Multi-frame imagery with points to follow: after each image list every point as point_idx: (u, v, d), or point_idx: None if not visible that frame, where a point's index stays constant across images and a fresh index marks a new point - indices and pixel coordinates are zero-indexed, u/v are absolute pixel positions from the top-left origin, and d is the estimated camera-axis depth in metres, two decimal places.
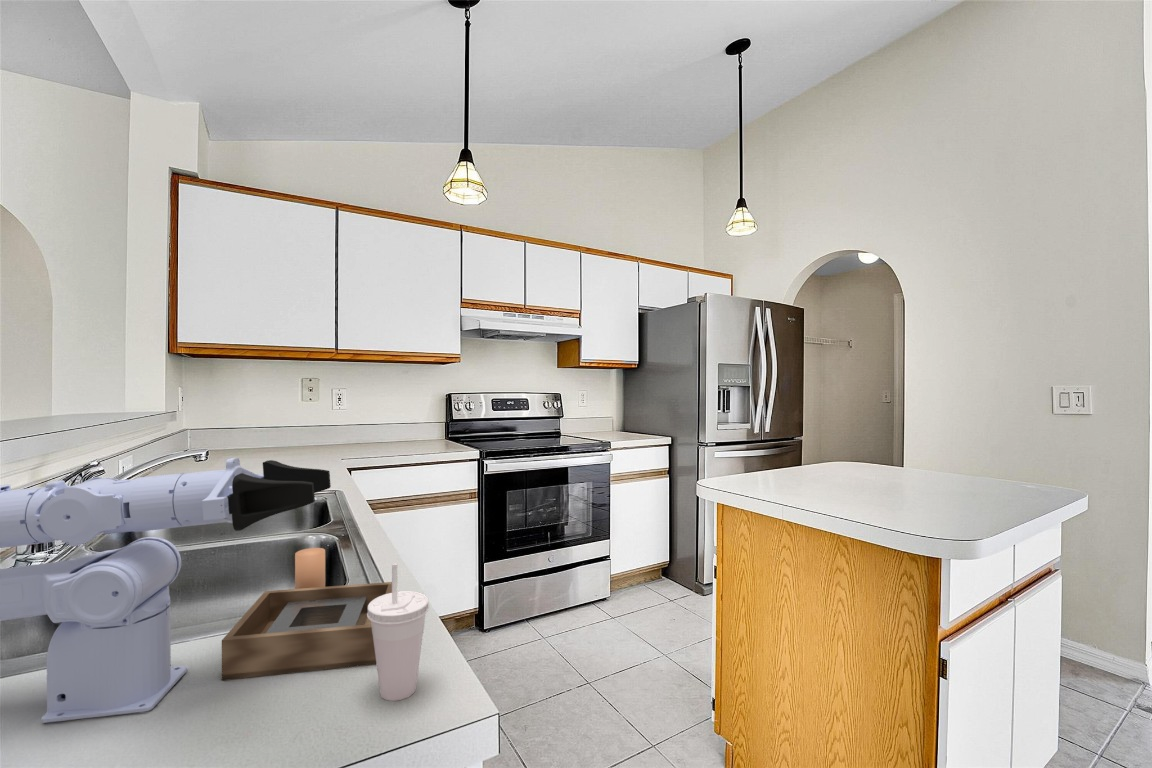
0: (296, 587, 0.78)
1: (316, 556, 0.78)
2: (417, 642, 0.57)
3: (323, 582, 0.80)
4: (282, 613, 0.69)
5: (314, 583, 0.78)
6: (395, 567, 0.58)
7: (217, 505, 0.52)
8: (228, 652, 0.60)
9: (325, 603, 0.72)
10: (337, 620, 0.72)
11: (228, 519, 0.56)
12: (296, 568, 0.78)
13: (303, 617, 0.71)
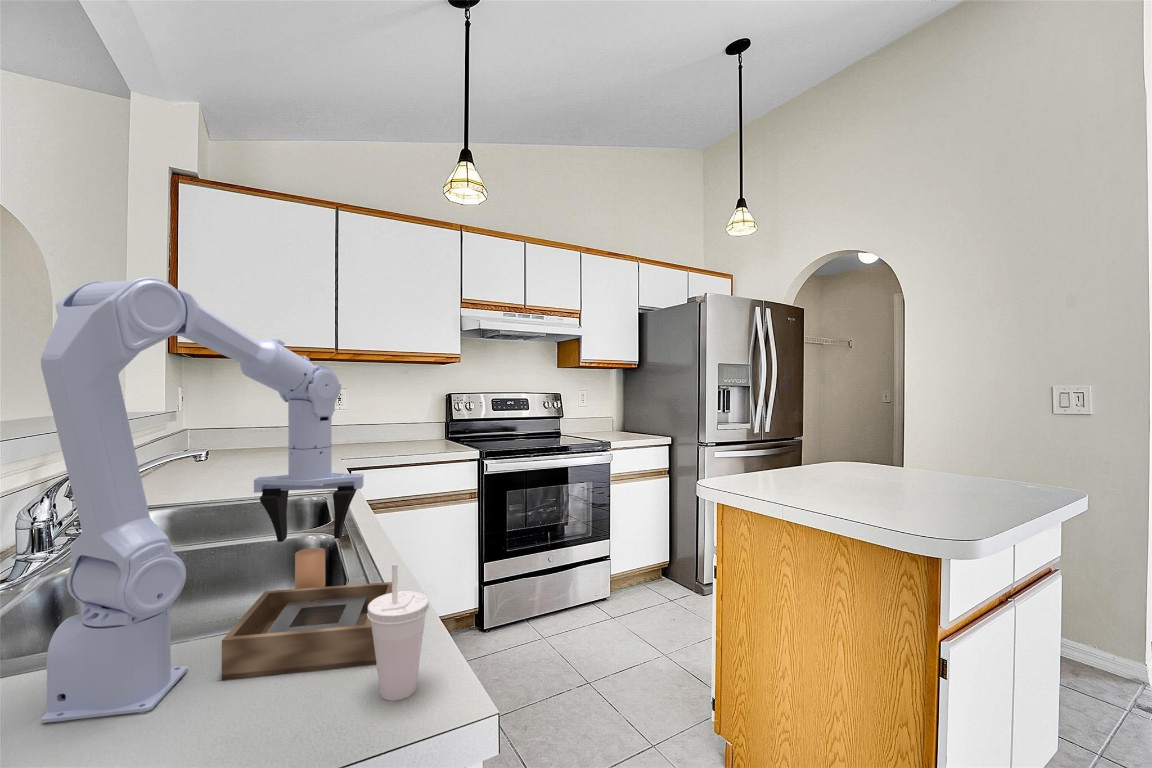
0: (296, 587, 0.78)
1: (316, 556, 0.78)
2: (417, 642, 0.57)
3: (323, 582, 0.80)
4: (282, 613, 0.69)
5: (314, 583, 0.78)
6: (395, 567, 0.58)
7: (362, 483, 0.81)
8: (228, 652, 0.60)
9: (325, 603, 0.72)
10: (337, 620, 0.72)
11: (331, 483, 0.78)
12: (296, 568, 0.78)
13: (303, 617, 0.71)
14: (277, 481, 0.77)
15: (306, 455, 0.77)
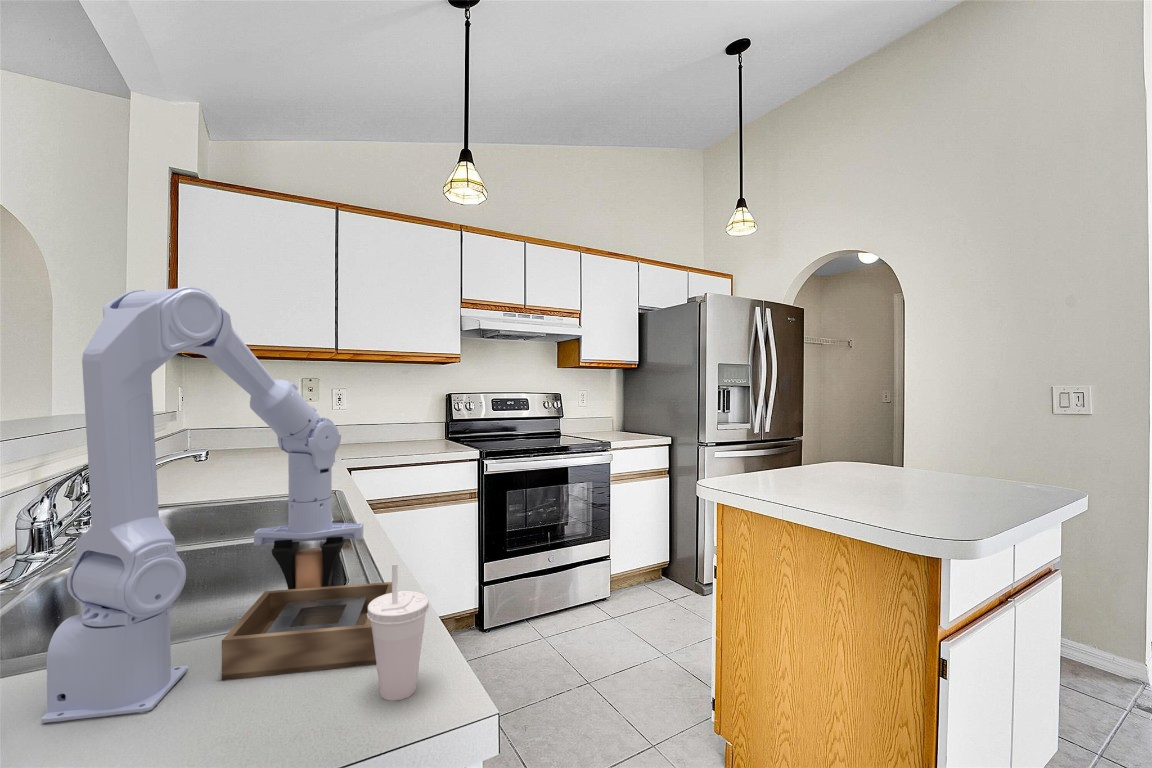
0: (296, 587, 0.78)
1: (316, 556, 0.78)
2: (417, 642, 0.57)
3: None
4: (282, 613, 0.69)
5: (314, 582, 0.78)
6: (395, 567, 0.58)
7: (362, 533, 0.81)
8: (228, 652, 0.60)
9: (325, 603, 0.72)
10: (337, 620, 0.72)
11: (331, 535, 0.78)
12: (296, 568, 0.78)
13: (303, 617, 0.71)
14: (277, 534, 0.77)
15: (306, 508, 0.77)
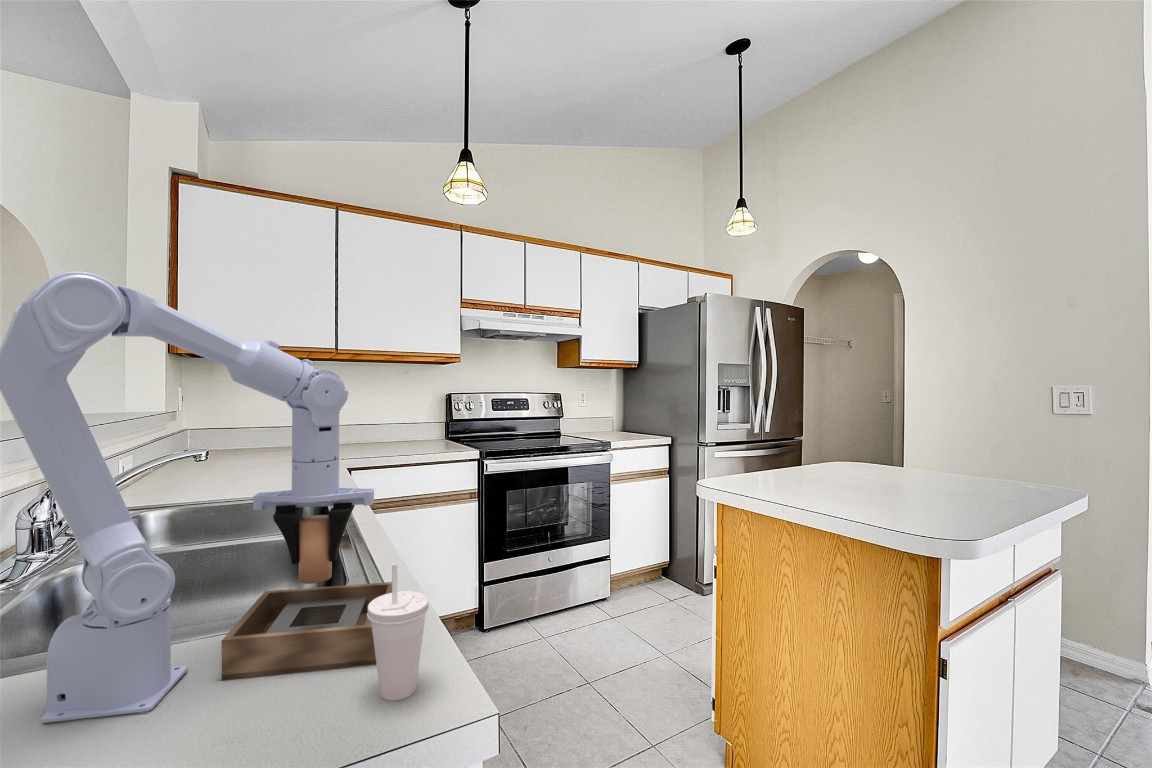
0: (300, 557, 0.71)
1: (323, 523, 0.71)
2: (417, 642, 0.57)
3: None
4: (282, 613, 0.69)
5: (320, 552, 0.71)
6: (395, 567, 0.58)
7: (373, 499, 0.74)
8: (228, 652, 0.60)
9: (325, 603, 0.72)
10: (337, 620, 0.72)
11: (339, 499, 0.71)
12: (300, 536, 0.71)
13: (303, 617, 0.71)
14: (279, 498, 0.69)
15: (312, 469, 0.69)
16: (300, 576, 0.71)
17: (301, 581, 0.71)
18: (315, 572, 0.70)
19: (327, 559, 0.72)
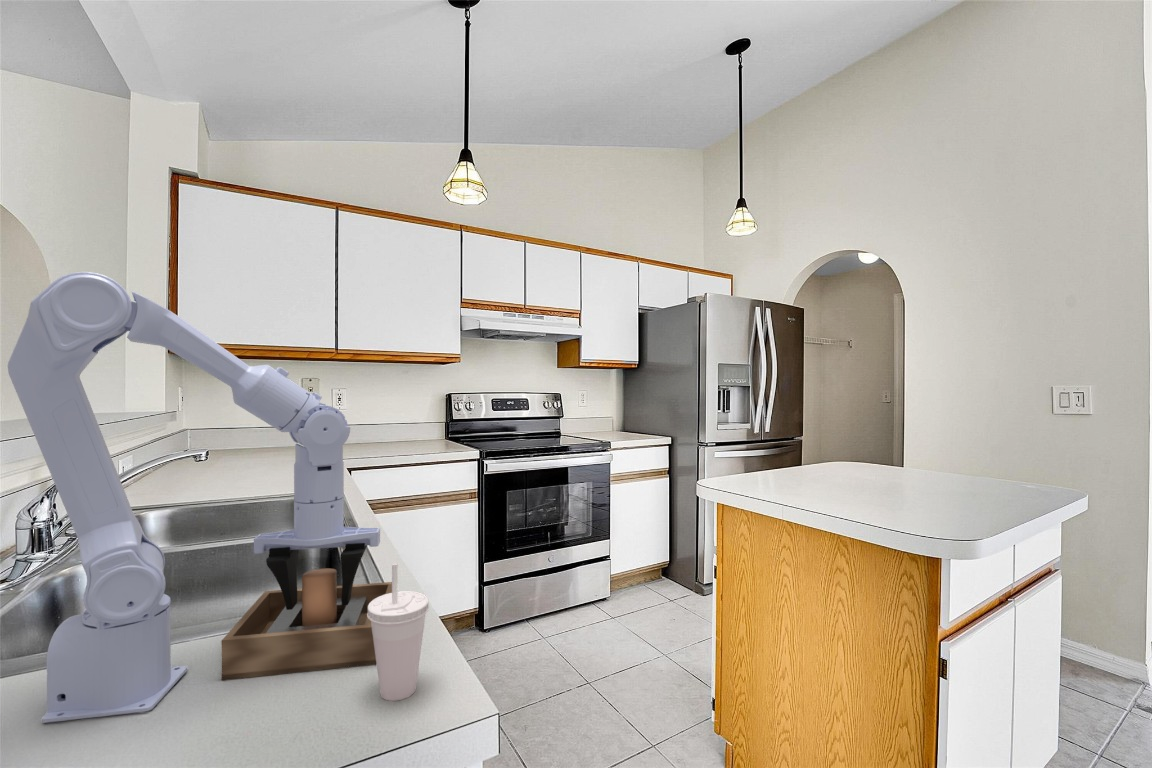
0: (304, 615, 0.67)
1: (327, 577, 0.68)
2: (417, 642, 0.57)
3: (335, 608, 0.69)
4: (282, 613, 0.69)
5: (325, 608, 0.68)
6: (395, 567, 0.58)
7: (379, 539, 0.71)
8: (228, 652, 0.60)
9: None
10: (337, 620, 0.72)
11: (344, 541, 0.67)
12: (304, 592, 0.68)
13: None
14: (281, 540, 0.66)
15: (315, 510, 0.66)
16: None
17: None
18: None
19: (332, 616, 0.68)
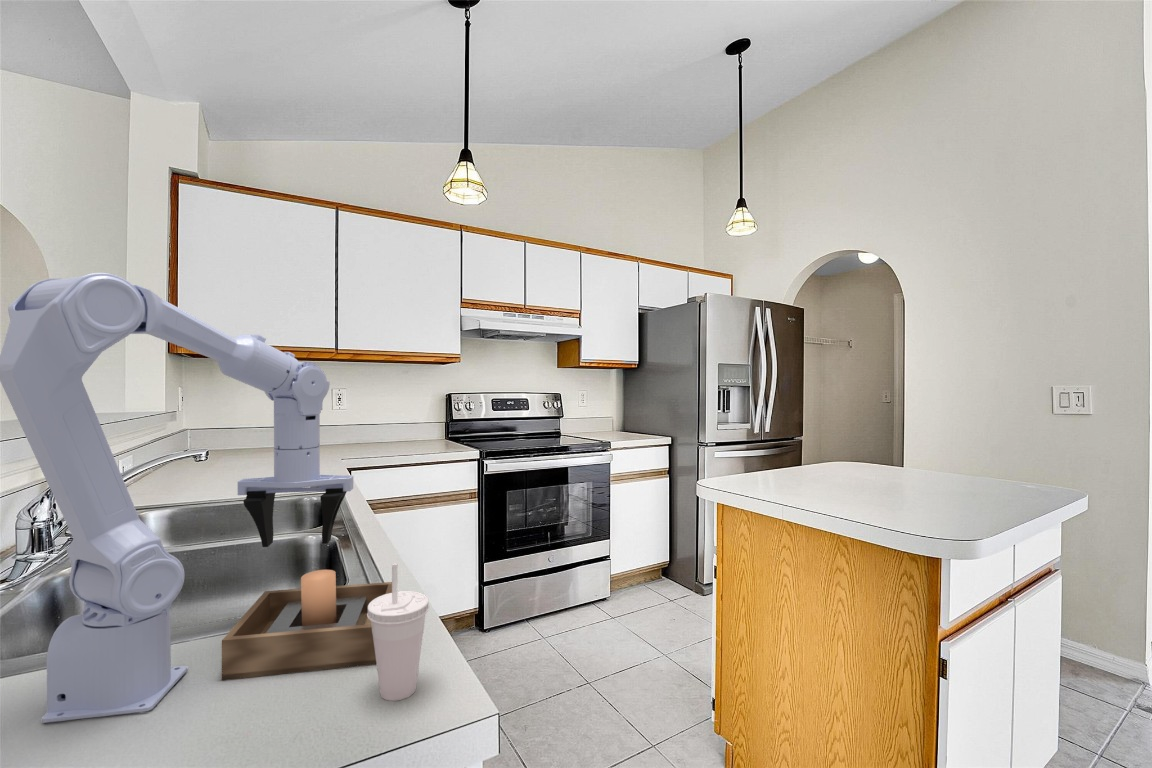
0: (303, 617, 0.67)
1: (327, 580, 0.68)
2: (417, 642, 0.57)
3: (334, 609, 0.69)
4: (282, 613, 0.69)
5: (325, 611, 0.67)
6: (395, 567, 0.58)
7: (352, 485, 0.77)
8: (228, 652, 0.60)
9: None
10: (337, 620, 0.72)
11: (319, 485, 0.74)
12: (303, 595, 0.67)
13: None
14: (262, 483, 0.73)
15: (292, 456, 0.73)
16: None
17: None
18: None
19: (331, 618, 0.68)
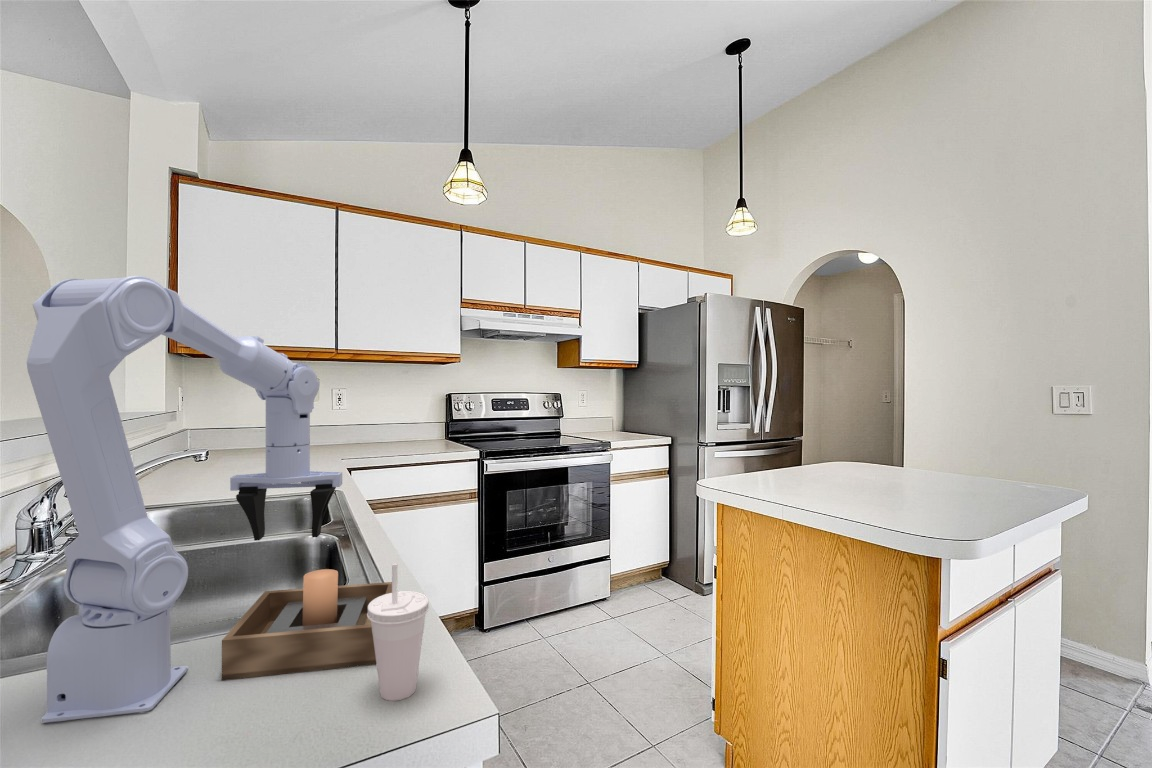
0: (305, 616, 0.67)
1: (330, 579, 0.68)
2: (417, 642, 0.57)
3: (336, 609, 0.69)
4: (282, 613, 0.69)
5: (326, 610, 0.68)
6: (395, 567, 0.58)
7: (341, 481, 0.81)
8: (228, 652, 0.60)
9: None
10: (337, 620, 0.72)
11: (309, 481, 0.78)
12: (305, 593, 0.67)
13: None
14: (254, 479, 0.76)
15: (283, 453, 0.76)
16: None
17: None
18: None
19: (333, 617, 0.68)
